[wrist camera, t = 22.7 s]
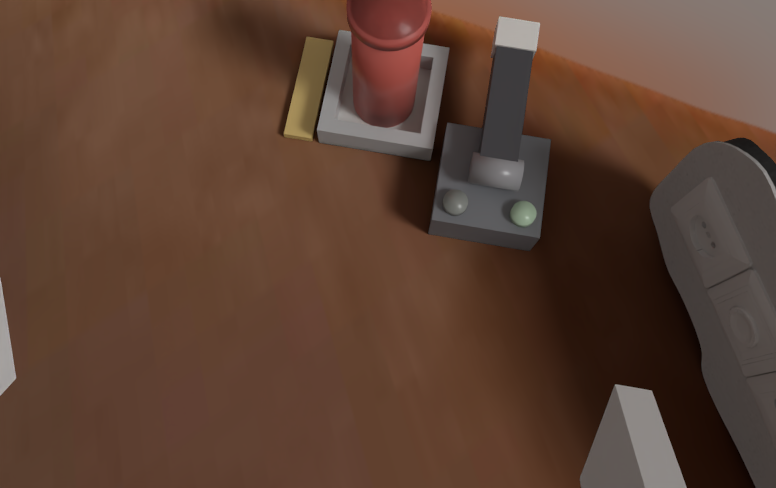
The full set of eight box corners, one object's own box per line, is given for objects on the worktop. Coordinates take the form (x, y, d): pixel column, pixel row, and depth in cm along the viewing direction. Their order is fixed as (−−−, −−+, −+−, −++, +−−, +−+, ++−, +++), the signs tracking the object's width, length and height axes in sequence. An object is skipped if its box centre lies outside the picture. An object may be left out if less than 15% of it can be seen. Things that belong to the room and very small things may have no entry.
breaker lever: (470, 177, 43) (495, 15, 45) (466, 186, 45) (491, 30, 47) (521, 186, 43) (544, 23, 45) (515, 194, 45) (537, 38, 47)
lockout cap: (336, 103, 49) (329, 10, 39) (379, 58, 50) (382, -45, 40) (388, 143, 48) (395, 59, 38) (430, 96, 50) (448, 2, 39)
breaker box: (428, 233, 47) (432, 216, 44) (443, 141, 49) (448, 118, 46) (529, 251, 47) (542, 235, 43) (540, 157, 49) (553, 135, 45)
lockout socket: (284, 137, 49) (280, 124, 47) (307, 40, 51) (304, 24, 49) (430, 161, 49) (432, 149, 47) (446, 62, 51) (449, 47, 49)
